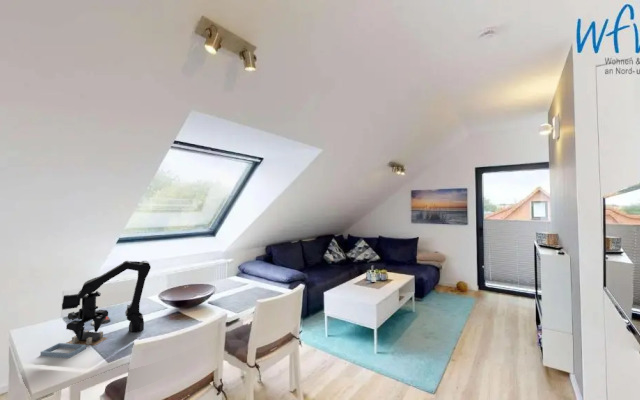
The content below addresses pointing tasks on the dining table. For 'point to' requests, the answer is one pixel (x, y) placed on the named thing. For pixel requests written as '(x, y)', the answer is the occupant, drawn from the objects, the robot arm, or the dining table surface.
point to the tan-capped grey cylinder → (91, 335)
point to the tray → (64, 355)
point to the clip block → (87, 340)
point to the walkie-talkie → (103, 321)
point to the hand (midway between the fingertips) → (88, 335)
